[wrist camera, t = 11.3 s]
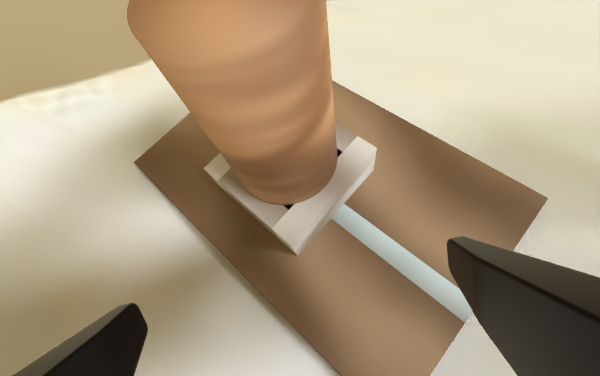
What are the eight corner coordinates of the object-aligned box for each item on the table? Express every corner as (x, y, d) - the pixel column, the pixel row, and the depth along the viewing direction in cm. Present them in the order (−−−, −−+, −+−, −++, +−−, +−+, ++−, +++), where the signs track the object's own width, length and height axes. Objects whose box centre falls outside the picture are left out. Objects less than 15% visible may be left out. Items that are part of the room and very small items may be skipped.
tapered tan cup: (296, 239, 17) (209, 91, 7) (234, 185, 19) (92, 8, 9) (357, 171, 19) (367, -45, 8) (292, 128, 21) (230, -89, 10)
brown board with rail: (391, 424, 14) (402, 449, 11) (140, 167, 22) (108, 143, 19) (539, 203, 17) (579, 177, 14) (270, 53, 25) (259, 17, 23)
